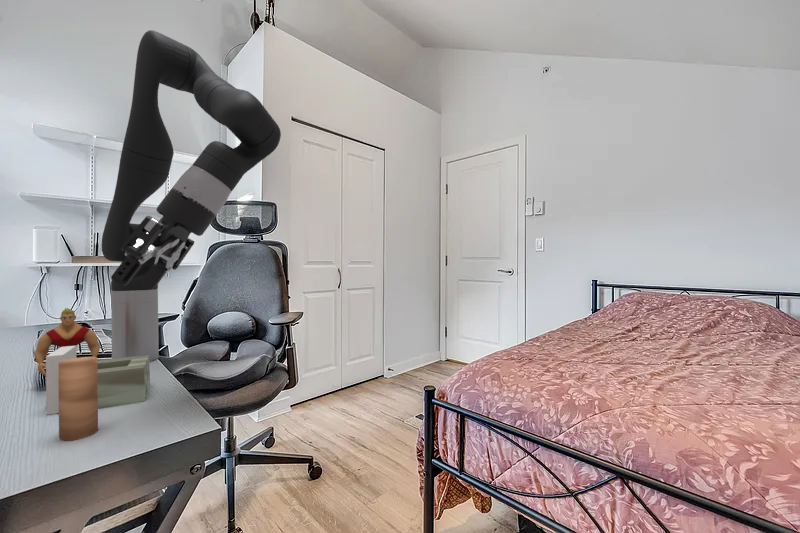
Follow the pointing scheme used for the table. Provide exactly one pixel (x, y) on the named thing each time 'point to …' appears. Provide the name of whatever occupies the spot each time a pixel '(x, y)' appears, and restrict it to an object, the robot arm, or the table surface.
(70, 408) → the dowel
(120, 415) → the table surface
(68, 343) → the action figure
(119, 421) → the table surface
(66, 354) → the backstop wall
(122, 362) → the socket block
